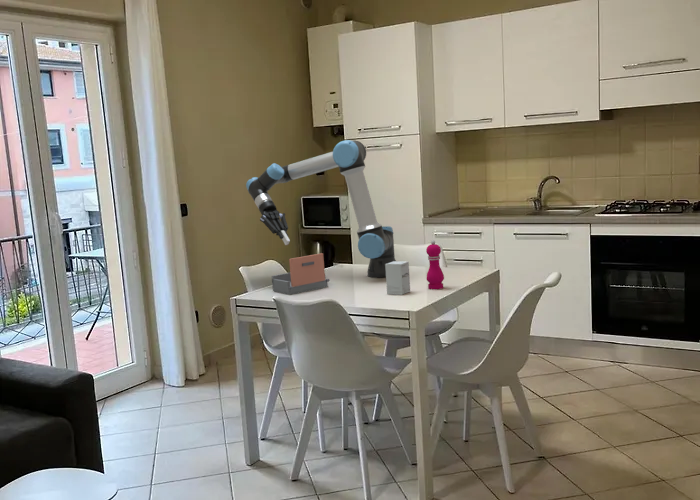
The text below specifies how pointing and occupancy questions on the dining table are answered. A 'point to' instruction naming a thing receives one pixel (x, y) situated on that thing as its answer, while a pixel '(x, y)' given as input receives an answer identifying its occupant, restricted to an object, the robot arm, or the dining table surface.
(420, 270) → the dining table surface
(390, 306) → the dining table surface
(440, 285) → the pepper mill
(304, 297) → the dining table surface
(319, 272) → the panel
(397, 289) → the supplement box
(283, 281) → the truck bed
